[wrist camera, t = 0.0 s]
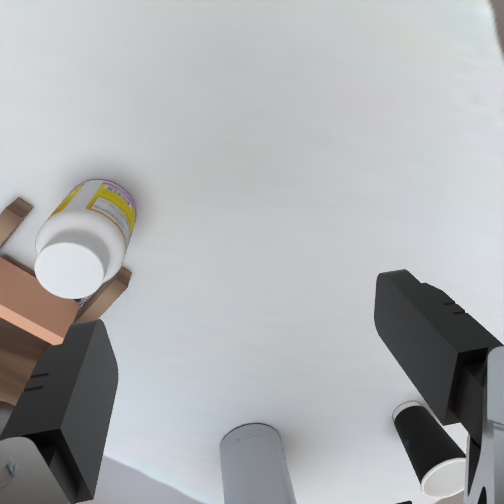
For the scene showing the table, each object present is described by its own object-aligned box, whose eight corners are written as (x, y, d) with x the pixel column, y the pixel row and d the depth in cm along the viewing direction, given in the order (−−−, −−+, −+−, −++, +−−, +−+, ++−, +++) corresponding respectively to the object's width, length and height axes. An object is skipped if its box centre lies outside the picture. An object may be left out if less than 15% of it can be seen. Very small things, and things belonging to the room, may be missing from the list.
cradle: (3, 187, 36) (-69, 236, 26) (142, 280, 43) (128, 349, 32) (-79, 295, 40) (-172, 377, 29) (61, 366, 46) (25, 453, 36)
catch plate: (0, 256, 38) (-30, 288, 33) (80, 304, 42) (65, 339, 36) (-7, 264, 38) (-38, 297, 33) (74, 311, 42) (57, 347, 37)
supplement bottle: (72, 240, 40) (26, 312, 28) (62, 177, 37) (6, 229, 25) (139, 239, 41) (121, 309, 29) (134, 178, 38) (112, 228, 26)
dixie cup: (440, 404, 60) (490, 469, 51) (406, 435, 63) (446, 504, 53) (408, 386, 57) (454, 453, 48) (373, 420, 60) (409, 490, 50)
